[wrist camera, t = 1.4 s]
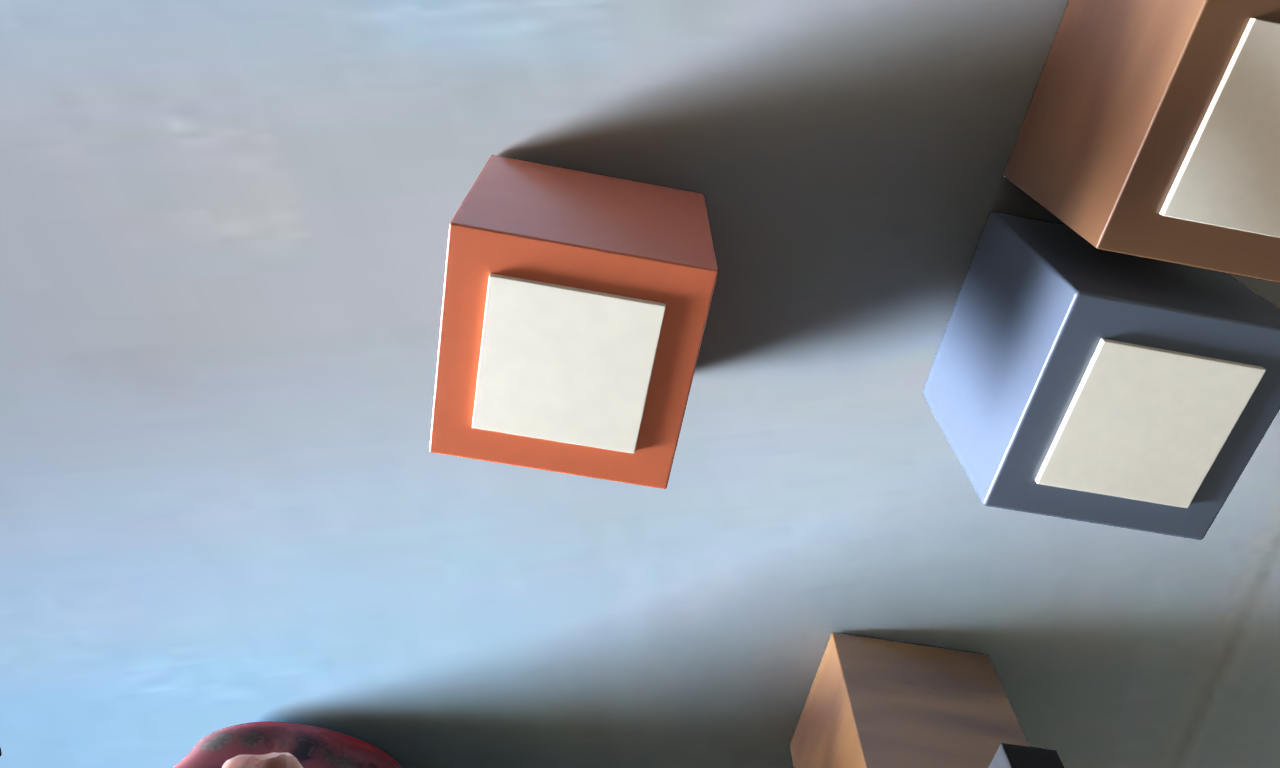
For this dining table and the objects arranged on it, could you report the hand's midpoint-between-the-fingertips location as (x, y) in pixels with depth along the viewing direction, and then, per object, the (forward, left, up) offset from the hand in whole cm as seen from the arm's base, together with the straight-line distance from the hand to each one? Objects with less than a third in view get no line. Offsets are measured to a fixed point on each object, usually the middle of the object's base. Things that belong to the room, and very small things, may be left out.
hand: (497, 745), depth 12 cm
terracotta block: (0, 0, -17) cm, 17 cm away
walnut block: (-8, +14, -17) cm, 23 cm away
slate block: (-1, +14, -17) cm, 22 cm away
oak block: (+15, +14, -17) cm, 26 cm away
